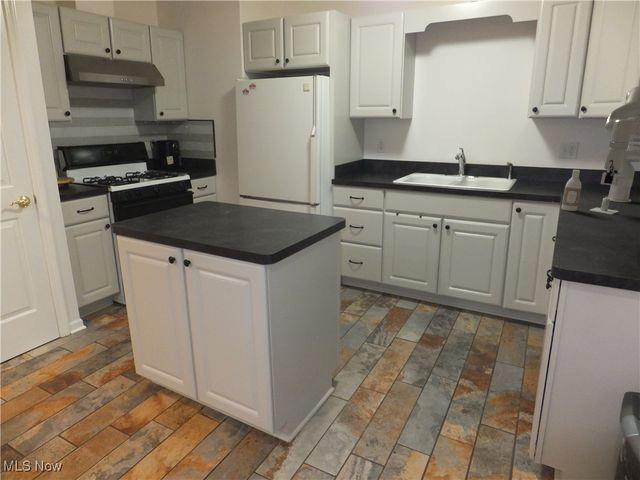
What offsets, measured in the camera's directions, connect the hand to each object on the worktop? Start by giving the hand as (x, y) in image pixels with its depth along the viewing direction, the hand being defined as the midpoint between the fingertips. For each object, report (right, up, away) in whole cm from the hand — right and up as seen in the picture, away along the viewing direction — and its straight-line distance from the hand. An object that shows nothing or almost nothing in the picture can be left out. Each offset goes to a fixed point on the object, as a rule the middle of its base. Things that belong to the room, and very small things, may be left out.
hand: (610, 182), depth 212 cm
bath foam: (-17, -13, +6) cm, 22 cm away
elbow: (+2, -1, -2) cm, 3 cm away
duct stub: (0, -14, +4) cm, 15 cm away
